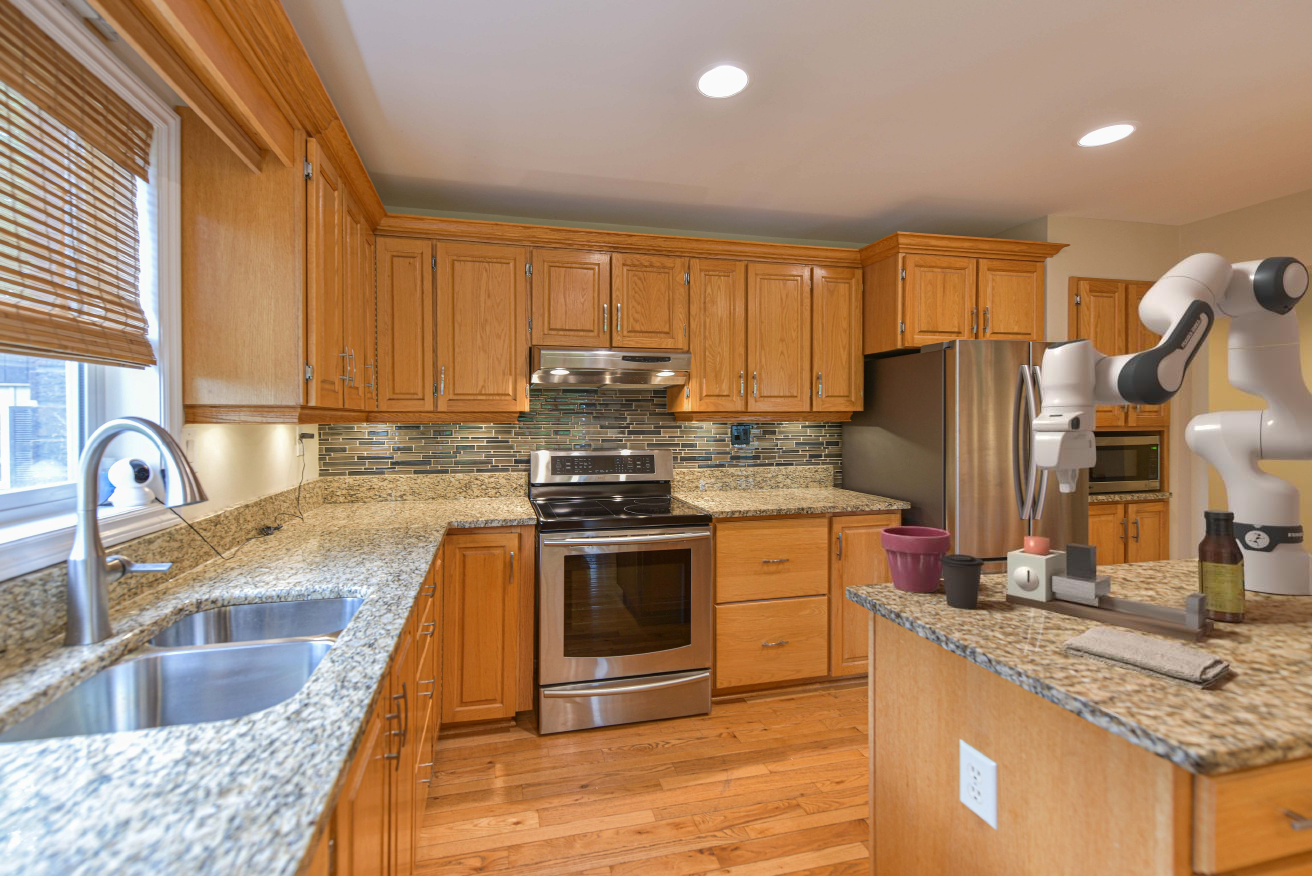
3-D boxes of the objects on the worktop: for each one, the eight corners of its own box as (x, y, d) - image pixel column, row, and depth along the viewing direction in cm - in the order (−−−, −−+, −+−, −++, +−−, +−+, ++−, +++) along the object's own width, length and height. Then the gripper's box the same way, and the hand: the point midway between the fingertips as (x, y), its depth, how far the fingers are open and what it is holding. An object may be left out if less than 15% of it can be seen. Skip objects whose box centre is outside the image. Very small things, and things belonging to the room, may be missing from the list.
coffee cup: (983, 613, 114) (983, 561, 114) (937, 607, 119) (936, 557, 119) (985, 603, 121) (985, 554, 121) (941, 597, 126) (941, 550, 125)
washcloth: (1208, 696, 80) (1208, 673, 80) (1058, 655, 95) (1058, 635, 95) (1233, 675, 87) (1233, 654, 86) (1089, 639, 101) (1089, 621, 101)
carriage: (1069, 592, 121) (1069, 540, 121) (1110, 600, 115) (1110, 545, 115) (1052, 599, 117) (1052, 545, 116) (1094, 607, 111) (1094, 551, 111)
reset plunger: (1029, 561, 125) (1029, 535, 125) (1053, 565, 122) (1053, 538, 122) (1020, 564, 123) (1020, 537, 123) (1044, 568, 119) (1044, 540, 119)
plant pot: (880, 592, 130) (879, 534, 130) (881, 577, 143) (881, 524, 143) (953, 599, 124) (953, 538, 124) (948, 583, 137) (948, 527, 137)
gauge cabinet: (1029, 593, 128) (1029, 546, 128) (1066, 600, 122) (1066, 552, 122) (1006, 601, 122) (1006, 553, 122) (1044, 609, 116) (1044, 558, 116)
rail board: (1029, 592, 129) (1029, 562, 128) (1213, 628, 104) (1214, 592, 104) (1005, 601, 122) (1005, 570, 122) (1196, 642, 98) (1196, 603, 98)
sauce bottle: (1254, 624, 107) (1255, 514, 106) (1214, 622, 108) (1214, 513, 108) (1227, 613, 113) (1227, 509, 113) (1189, 612, 114) (1189, 508, 114)
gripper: (1069, 422, 126) (1069, 487, 126) (1028, 421, 114) (1028, 493, 114) (1105, 422, 121) (1105, 490, 121) (1066, 421, 109) (1065, 496, 109)
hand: (1067, 492), depth 117 cm, fingers closed
